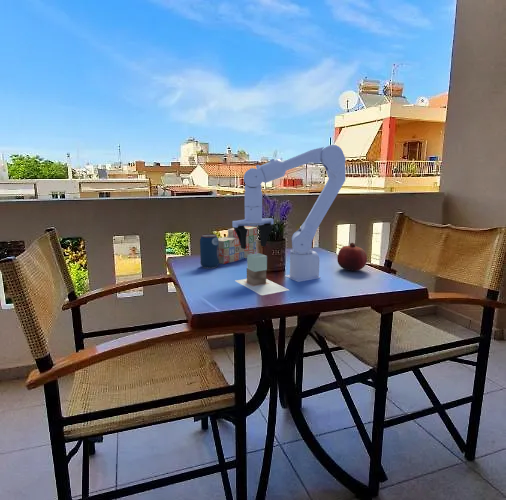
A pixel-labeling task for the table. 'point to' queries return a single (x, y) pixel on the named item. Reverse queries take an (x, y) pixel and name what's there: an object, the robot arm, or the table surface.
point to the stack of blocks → (236, 246)
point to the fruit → (352, 257)
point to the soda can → (209, 251)
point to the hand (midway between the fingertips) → (253, 247)
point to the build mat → (263, 287)
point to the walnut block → (256, 277)
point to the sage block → (257, 262)
